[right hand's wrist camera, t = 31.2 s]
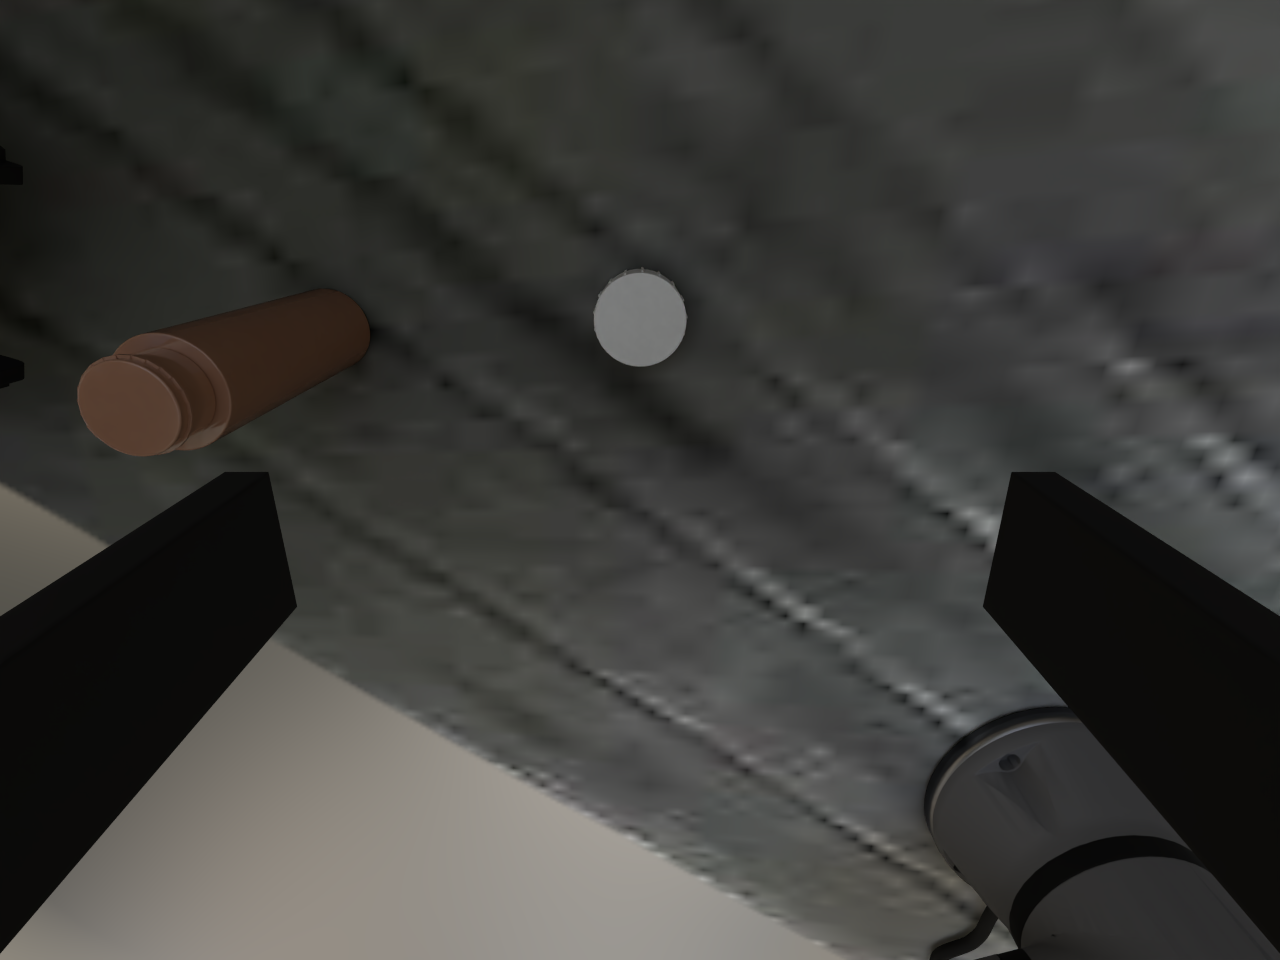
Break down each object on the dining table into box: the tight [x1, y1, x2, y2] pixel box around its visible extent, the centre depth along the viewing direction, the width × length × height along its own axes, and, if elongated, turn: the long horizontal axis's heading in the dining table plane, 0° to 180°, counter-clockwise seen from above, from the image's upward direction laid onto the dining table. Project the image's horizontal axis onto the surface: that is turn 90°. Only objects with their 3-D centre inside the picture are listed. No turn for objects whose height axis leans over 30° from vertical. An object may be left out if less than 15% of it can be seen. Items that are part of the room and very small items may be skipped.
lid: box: [593, 267, 688, 367], centre depth 36 cm, size 5×5×2 cm
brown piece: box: [77, 289, 370, 456], centre depth 30 cm, size 4×4×16 cm
